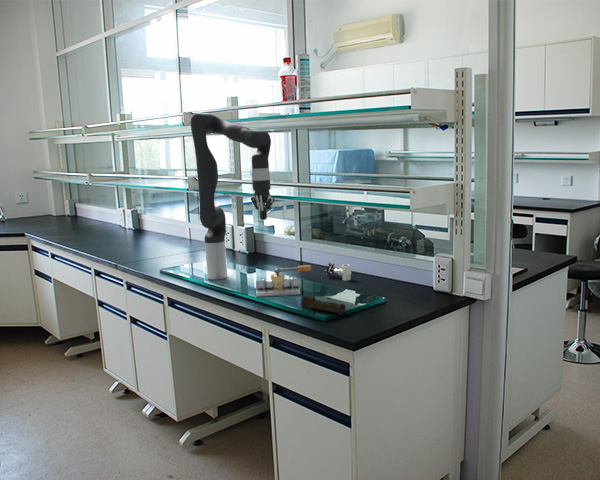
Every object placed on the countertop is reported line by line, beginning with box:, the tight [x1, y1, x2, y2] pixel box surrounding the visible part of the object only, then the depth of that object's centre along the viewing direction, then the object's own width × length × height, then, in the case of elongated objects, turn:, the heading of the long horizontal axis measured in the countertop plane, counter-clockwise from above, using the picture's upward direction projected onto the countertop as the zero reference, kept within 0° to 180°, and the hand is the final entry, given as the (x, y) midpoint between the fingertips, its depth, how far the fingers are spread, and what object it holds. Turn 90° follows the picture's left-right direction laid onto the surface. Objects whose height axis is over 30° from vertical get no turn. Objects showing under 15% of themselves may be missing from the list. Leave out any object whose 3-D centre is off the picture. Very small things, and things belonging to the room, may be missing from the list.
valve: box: [324, 262, 352, 282], centre depth 245 cm, size 7×7×12 cm
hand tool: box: [300, 295, 346, 316], centre depth 202 cm, size 19×4×5 cm, turn 50°
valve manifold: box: [255, 272, 301, 298], centre depth 229 cm, size 12×18×8 cm, turn 92°
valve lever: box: [274, 264, 312, 274], centre depth 229 cm, size 15×2×2 cm, turn 99°
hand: (263, 219), depth 235 cm, fingers closed
